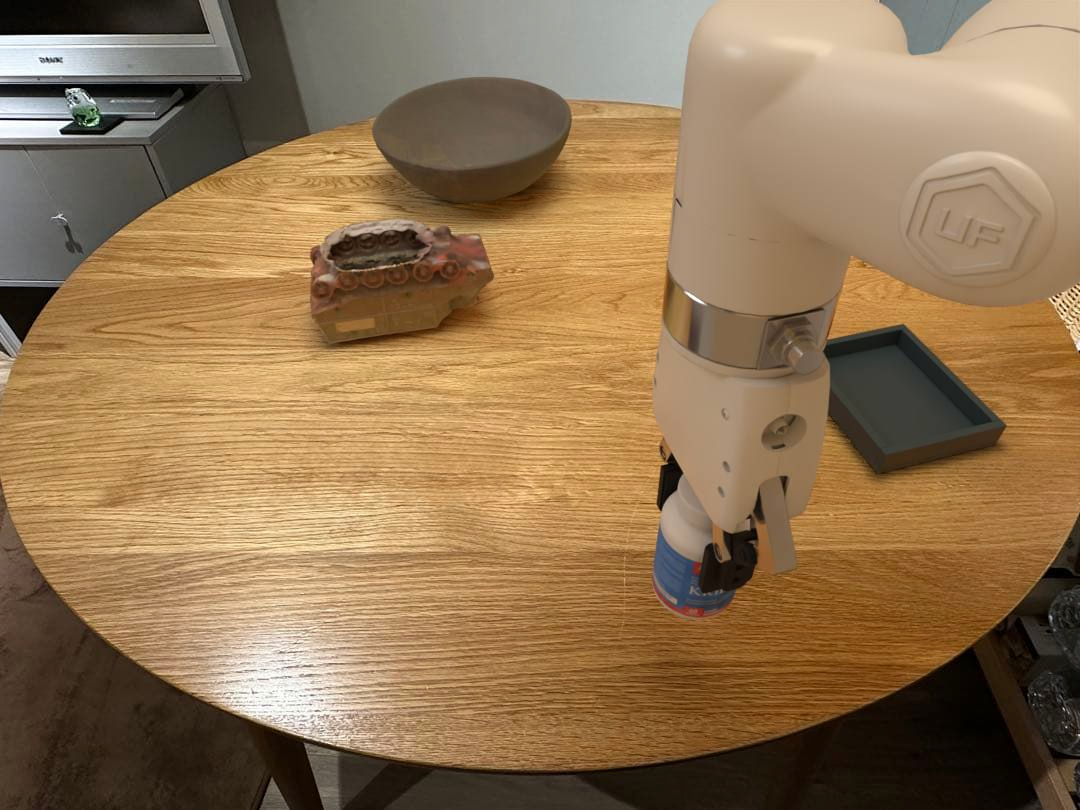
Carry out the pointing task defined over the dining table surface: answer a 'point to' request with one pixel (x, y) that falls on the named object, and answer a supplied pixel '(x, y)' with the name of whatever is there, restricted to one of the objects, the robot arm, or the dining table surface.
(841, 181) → the robot arm
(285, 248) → the dining table surface
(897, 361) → the tray
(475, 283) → the brown toy tank
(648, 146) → the dining table surface
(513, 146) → the bowl
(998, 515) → the dining table surface
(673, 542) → the pill bottle
